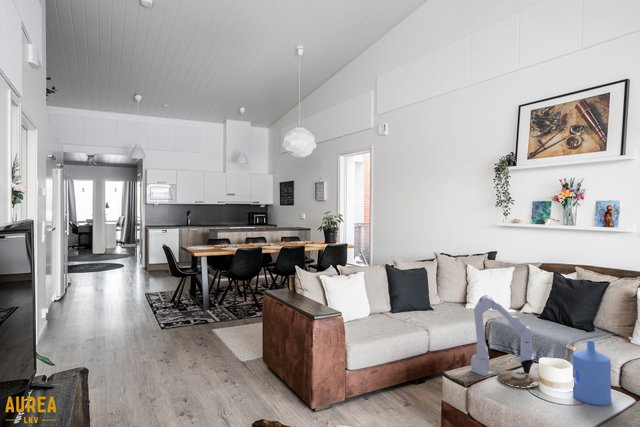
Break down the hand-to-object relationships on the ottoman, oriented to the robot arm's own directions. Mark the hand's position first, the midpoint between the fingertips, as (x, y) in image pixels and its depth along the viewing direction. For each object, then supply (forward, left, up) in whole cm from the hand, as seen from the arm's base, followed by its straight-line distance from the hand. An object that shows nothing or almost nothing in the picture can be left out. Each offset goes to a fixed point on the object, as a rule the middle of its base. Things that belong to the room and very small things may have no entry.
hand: (526, 373), depth 224 cm
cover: (0, -8, -1) cm, 8 cm away
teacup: (+14, +13, -3) cm, 19 cm away
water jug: (+32, +2, -3) cm, 32 cm away
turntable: (0, -8, -3) cm, 8 cm away
